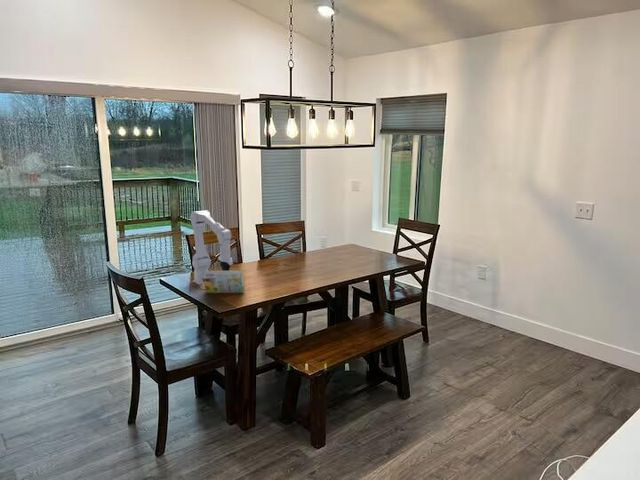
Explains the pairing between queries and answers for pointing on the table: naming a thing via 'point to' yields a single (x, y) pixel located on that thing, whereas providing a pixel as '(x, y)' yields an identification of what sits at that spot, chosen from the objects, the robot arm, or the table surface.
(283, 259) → the table surface
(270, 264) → the table surface
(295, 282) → the table surface
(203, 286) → the cork coaster
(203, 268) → the robot arm
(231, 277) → the snack box
